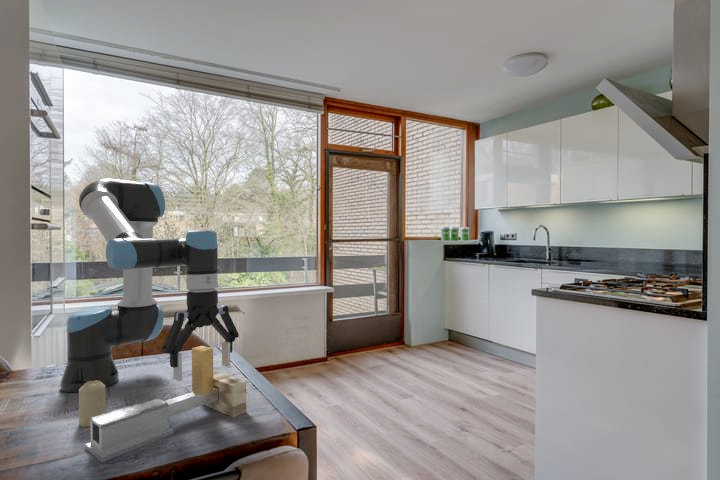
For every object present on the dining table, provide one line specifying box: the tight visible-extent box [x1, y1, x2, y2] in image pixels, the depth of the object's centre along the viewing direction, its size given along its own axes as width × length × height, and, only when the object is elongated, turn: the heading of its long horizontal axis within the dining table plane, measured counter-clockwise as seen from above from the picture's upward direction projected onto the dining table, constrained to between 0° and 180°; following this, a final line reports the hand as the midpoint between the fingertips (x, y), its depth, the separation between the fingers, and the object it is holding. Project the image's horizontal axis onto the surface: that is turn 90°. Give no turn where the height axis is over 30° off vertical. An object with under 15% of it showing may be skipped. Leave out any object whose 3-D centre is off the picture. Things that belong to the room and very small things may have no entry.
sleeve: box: [84, 397, 175, 463], centre depth 91 cm, size 9×15×7 cm, turn 142°
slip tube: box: [163, 345, 219, 418], centre depth 101 cm, size 5×22×14 cm, turn 142°
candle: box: [78, 380, 107, 428], centre depth 101 cm, size 6×6×10 cm
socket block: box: [204, 369, 247, 418], centre depth 109 cm, size 16×4×8 cm, turn 52°
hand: (203, 372), depth 105 cm, fingers open, 13 cm apart
